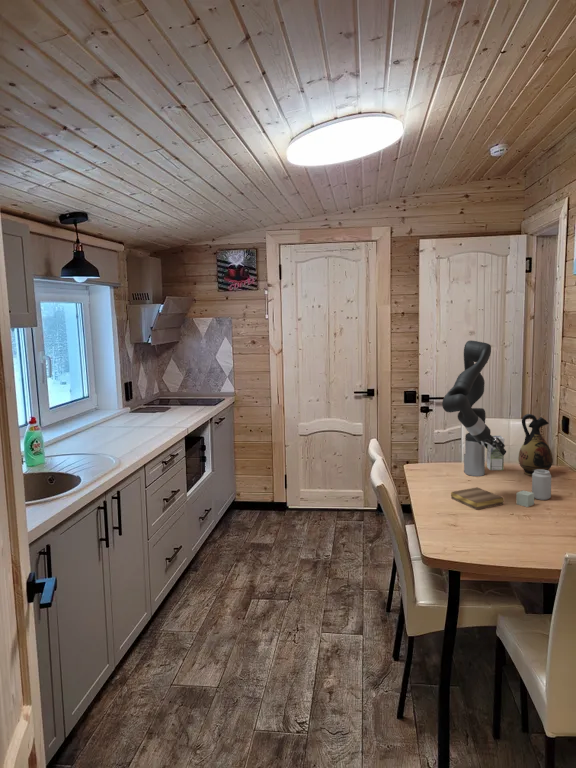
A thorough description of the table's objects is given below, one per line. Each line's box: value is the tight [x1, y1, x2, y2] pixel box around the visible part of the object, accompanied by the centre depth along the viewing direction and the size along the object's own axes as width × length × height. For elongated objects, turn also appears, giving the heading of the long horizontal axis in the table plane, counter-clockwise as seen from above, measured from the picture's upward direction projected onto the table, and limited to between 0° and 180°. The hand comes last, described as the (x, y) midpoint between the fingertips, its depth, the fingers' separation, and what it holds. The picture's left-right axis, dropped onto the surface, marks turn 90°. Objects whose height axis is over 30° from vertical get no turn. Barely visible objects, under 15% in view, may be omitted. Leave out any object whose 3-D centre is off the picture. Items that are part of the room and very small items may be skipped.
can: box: [531, 469, 552, 501], centre depth 239 cm, size 8×8×12 cm
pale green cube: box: [515, 489, 535, 508], centre depth 232 cm, size 5×5×5 cm
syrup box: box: [486, 435, 505, 471], centre depth 242 cm, size 6×6×14 cm
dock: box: [450, 486, 504, 511], centre depth 237 cm, size 16×14×3 cm
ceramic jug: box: [517, 413, 554, 477], centre depth 272 cm, size 17×15×30 cm
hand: (497, 451), depth 242 cm, fingers closed on syrup box, 7 cm apart
